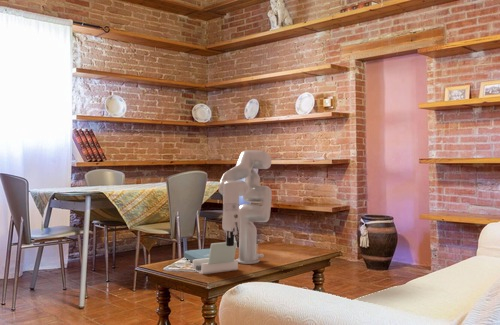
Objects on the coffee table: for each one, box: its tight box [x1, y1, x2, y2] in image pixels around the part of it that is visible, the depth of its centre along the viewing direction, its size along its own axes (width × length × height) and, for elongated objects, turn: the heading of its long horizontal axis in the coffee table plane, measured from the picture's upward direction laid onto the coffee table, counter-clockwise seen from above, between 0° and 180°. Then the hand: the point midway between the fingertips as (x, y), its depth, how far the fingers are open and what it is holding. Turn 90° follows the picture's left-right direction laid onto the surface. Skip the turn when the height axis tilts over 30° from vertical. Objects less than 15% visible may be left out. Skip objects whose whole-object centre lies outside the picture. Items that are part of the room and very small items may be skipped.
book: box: [183, 248, 210, 263], centre depth 260 cm, size 23×16×5 cm
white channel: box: [192, 258, 239, 275], centre depth 241 cm, size 20×11×5 cm, turn 122°
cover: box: [208, 240, 238, 264], centre depth 235 cm, size 14×11×1 cm
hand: (230, 245), depth 228 cm, fingers closed
